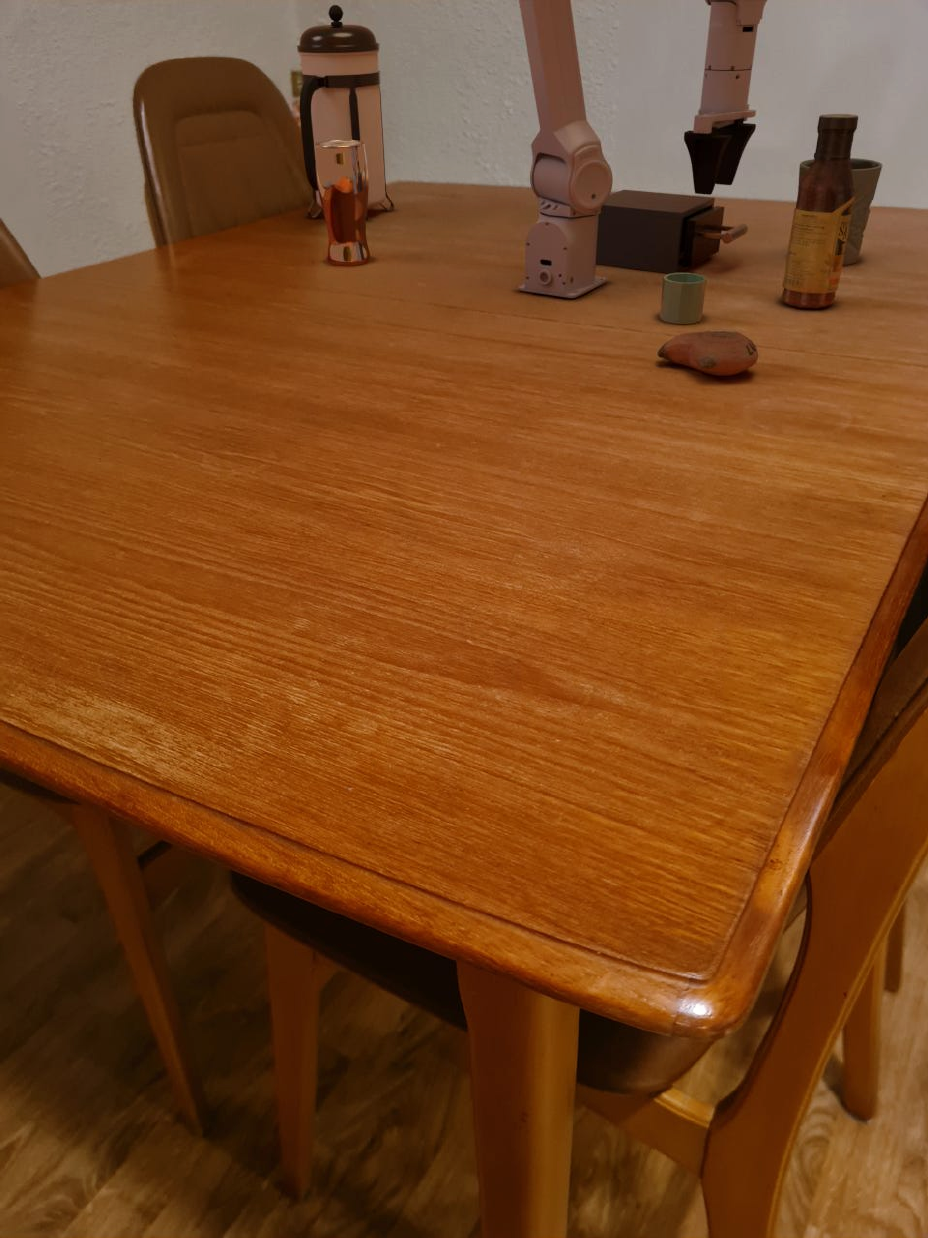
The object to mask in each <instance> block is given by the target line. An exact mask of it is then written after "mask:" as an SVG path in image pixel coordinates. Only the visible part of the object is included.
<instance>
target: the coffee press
mask: <svg viewBox="0 0 928 1238" xmlns="http://www.w3.org/2000/svg"><path fill="white" fill-rule="evenodd" d="M344 13H345V12H343V9H342V7H341V6H340V5H338V4H333V5H331V6H330V7H329V9H328V13H327V14H328V17H329V18H330V20H331V22H330V24H325V25H315V26H312V27H308V28H307V29H306V30H304V31H303V33H301V35H300V38H299V44H298V45H296V49H297V52H298V55H300V57H299V58H300V65H301V72H300V79H301V80H300V81H301V89H300V94H299V122H300V123H299V124H300V133H301V143H302V151H303V161H304V168H305V173H306V178H307V180H308V183H309V185H310V187H311V190H312V201H311V203H310V205H309V207H308V209H307V215H308V216H309V217H310V218H311V219H316V218H317V219H318V217H319V216H320V214H321V213H323V209H322V205H321V201H320V196H319V192H318V185H317V176H316V147H315V144H316V143H318V142H322V141H330V140H359V141H363V142H364V143H365V152H366V159H367V167H368V181H369V192H368V206H367V210H371V209H375V208H378V207H380V206H381V208H383V209H384V210H385V211H387V212H392V211H393V210H394V208H395V204H394V203H393V201H392V200H391V199H390V197H389V195H388V193H387V181H386V179H387V178H386V164H385V163H386V162H385V148H384V147H385V146H384V145H385V144H384V128H383V112H382V111H383V109H382V96H381V87H380V84H381V71H380V70H379V56H378V55H379V52H380V43H379V42H377V38H376V36H375V33H374V32H373V31H372V30H371V29H370V28H368V27H366V26H364V25H359V24H344V23H343V22H342V21H341V20H342V19H343V16H344ZM386 199H387V200H388V202H389V203H390V207H389V208H386V207H385V206H384V202H385V200H386ZM315 204H316V205H317V206H318V207H320V208H319V209H318V210H317V211H316V213H315V214H314V215H311V212H312V210H313V208H314V206H315ZM368 215H369V214H367V217H366V222H367V221H369V217H368Z"/></svg>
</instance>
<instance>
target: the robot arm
mask: <svg viewBox="0 0 928 1238" xmlns="http://www.w3.org/2000/svg"><path fill="white" fill-rule="evenodd" d="M518 2H519V10H520V15H521V22H522V27H523V34H524V40H525V45H526V51H527V52H526V53H527V58H528V63H529V64H528V65H529V70H530V77H531V81H532V82H531V83H532V89H533V94H534V95H533V96H534V100H535V107H536V113H537V118H538V124H539V131H538V133H537V134H536V135H535V137H534V139H533V140H532V142H531V143H530V147H531V154H532V155H531V156H532V161H531V165H530V166H531V167H530V172H529V183H530V187H531V191H532V192H533V193H534V195H535V196H536V197H537V198H538V208H539V214H538V219H537V221H536V222H535V223H534V225H532V226H531V227H530V228H529V231H528V232H527V234H526V238H525V251H524V255H525V256H524V257H525V258H524V262H525V263H524V283H523V284H521V285H519V286H518V291H520V292H527V293H532V294H540V295H547V296H553V297H560V298H566V299H576V298H578V297H580V296H583V295H584V294H585V293H588V292H590V291H592V290H594V289H596V288H598V287H600V286H602V285H604V284H606V283H607V282H608V278H607V277H604V276H596V265H597V264H596V249H597V231H598V214H600V213H601V207H602V206H603V205H604V204H605V202H606V201H607V199H608V197H609V195H611V194H612V189H613V183H614V182H613V181H614V177H613V172H612V168H611V166H610V164H609V163H608V161H607V160H606V158H605V155H604V153H603V147H602V141H601V139H600V138H599V136H598V135H597V133H596V132H595V130H594V129H593V127H592V126H591V125H590V123H589V121H588V118H587V112H586V103H585V96H584V89H583V82H582V74H581V67H580V61H579V52H578V46H577V38H576V29H575V22H574V16H573V15H574V14H573V9H572V1H571V0H518ZM704 2H705V3H706V5H707V6H710V13H709V21H708V22H709V23H708V31H707V41H706V50H705V59H704V69H703V78H702V87H701V96H700V105H699V108H698V110H697V114H696V115H694V120H693V130H687V131H684V132H683V141H684V143H685V146H686V148H687V151H688V155H689V158H690V163H691V170H692V172H691V173H692V180H693V189H694V194H695V195H707V196H709V195H713V192H714V190H715V187H716V185H721V186H722V185H723V186H732V185H733V182H734V180H735V178H736V174H737V171H738V169H739V165H740V162H741V159H742V157H743V154H744V151H745V150H746V147H747V145H748V144H749V142H750V139H751V138H752V136H753V135H754V133H755V131H756V127H757V125H756V123H750V122H748V119H750V118H754V117H756V115H757V114H756V113H757V109H750V104H749V103H748V102H749V95H750V87H751V80H752V73H753V65H754V56H755V49H756V41H757V35H758V28H759V24H760V23H761V20H763V15H764V9H765V6H766V4H767V2H768V0H704ZM747 122H748V123H747Z"/></svg>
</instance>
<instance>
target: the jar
mask: <svg viewBox="0 0 928 1238" xmlns="http://www.w3.org/2000/svg"><path fill="white" fill-rule="evenodd" d="M662 278H663V279H662V286H661V287H662V288H661V289H662V290H661V298H660V308H659V315H660V318H659V319H660V320H661V321H663V322H666V323H669V324H674V325H691V324H697V323H699V322H700V321H701V320H702V317H703V311H704V303H705V297H706V296H705V295H706V288H707V287H706V286H707V278H706V276H704V275H702V274H698V273H692V272H679V273H672V274H670V273H666V275H664V276H663V277H662Z"/></svg>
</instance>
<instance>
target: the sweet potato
mask: <svg viewBox="0 0 928 1238" xmlns="http://www.w3.org/2000/svg"><path fill="white" fill-rule="evenodd" d="M656 354H657V356H658V357H659V358H662V359H663V360H665V361H668V362H671V363H674V364H679V365H683V366H686V367H689V368H693V369H694V370H697V371H698V372H703V373H705V374H709V375H710V376H717V377H718V376H719V377H730V376H734V375H737V374H739V373H743V372H745V371H746V370H748V369H750V368H752V367H754V365H756V363H757V362H758V359H759V352H758V349H757V347H756V345H755V343H754V342H753V341H752V340H751V339H750V338H749V337H748V336H746V335H744V334H743V333H741V332H739V331H734V330H731V329H729V330H728V329H711V330H706V331H695V332H693V331H692V332H685V333H681V334H678V335H676V336H674V337H672V338H671V339H669V340H667V341H666V342H665V343H663V345H662V346H661V347H660V348H659V349H658V352H657V353H656Z"/></svg>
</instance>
